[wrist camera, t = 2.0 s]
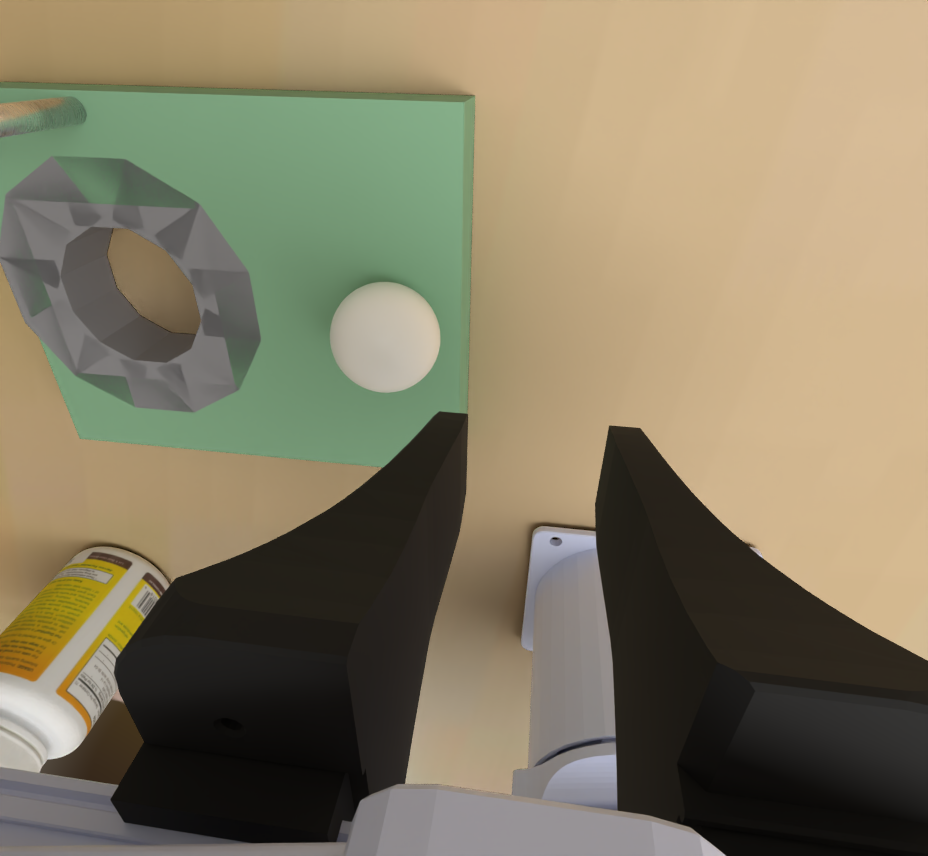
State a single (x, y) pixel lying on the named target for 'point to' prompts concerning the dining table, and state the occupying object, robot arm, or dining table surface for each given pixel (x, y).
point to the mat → (241, 259)
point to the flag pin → (40, 115)
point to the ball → (385, 337)
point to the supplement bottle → (70, 653)
